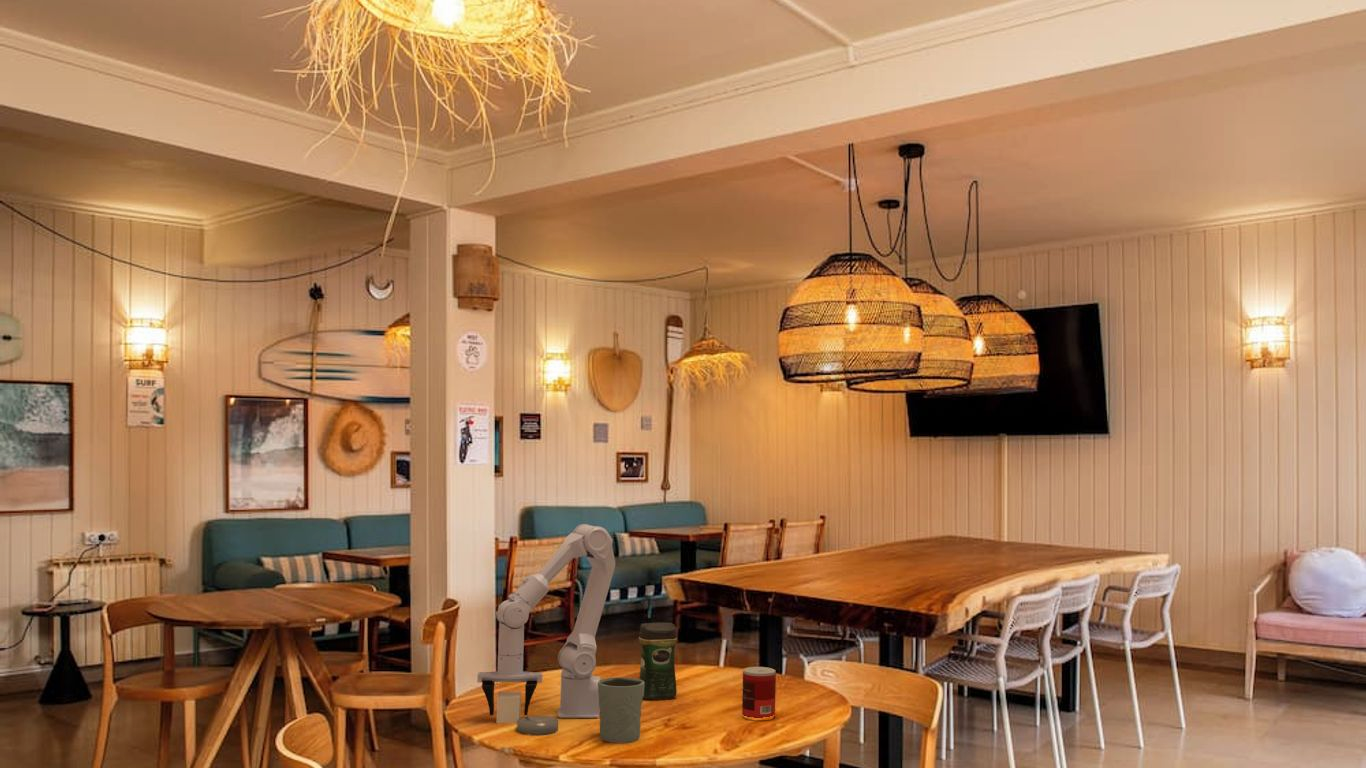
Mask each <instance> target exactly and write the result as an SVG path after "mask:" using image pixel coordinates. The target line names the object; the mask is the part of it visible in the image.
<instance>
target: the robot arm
mask: <svg viewBox="0 0 1366 768" xmlns="http://www.w3.org/2000/svg"><path fill="white" fill-rule="evenodd" d="M613 542H614V539H613V538H612V537H611V535H610V534H609V532H608V530H607V529H605V528H604V527H602V526H599V525H598V526H595V525H590V524H587V523H582V524H581V523H580V524H579V525H577V526H576V527H575V528H574V530H573V531H572V532H571V533H569V534H568V535H567V536H566V538H565V539H564V541H563V542H562V544H561V545H560V546H559V547H558V548H557V550H556V551H555V552H554V553H553V555H552V556H551V557H550V558H549V559H548V561H547V562H546V563H545V565H543V567H542V568H541V569H540V570H539V572H538V573H532V574H531V573H530V575H528V576H524V577H523V579H521V581H522V583H521V585H519V586H518V587H517V589H515V591H514V592H513V593H510V594H509V595H508V596H507V598H509V599H506V600H504V601H502V602H501V603H500V604H499V606H498V608H497V611H495V616H496V619H497V621H498V622H499V624H498V625H499V628H498V631H499V632H498V651H497V654H498V655H497V670H496V671H482V672H480V671H479V672H478V673H477V679H476V680H477V683H482V684H481V688H482V691H483V693H484V695H485V698H486V701H487V705H488V710H489V716H494V714H495V698H494V696H495V683H525V686H524V687H525V689H524V690H525V691H524V692H525V696H524V699H525V701H524V707H523V708H524V709H523V716H528V713H529V707H530V703H531V700H532V697H533V695H534V693H535V691H536V688H537V686H538V684H540V683H541V684H542V683H543V672H533V671H524V649H525V648H524V647H525V645H524V644H525V634H524V633H525V624H526V623H527V622H528V620H529V617H530V616H529V615H530V612H532V610H533V609H534V608H535V607H536V606H537V605H538V604H539V602H540V601H541V600H542V599H543V598H544V597H545V596H546V594H548V592H549V591H550V583H551V582H552V580H554V578H555V577H556V576H557V575H558V574H559V573H560V572H561V571H562V570H563V569H565V567H566V566H567V565H568V564H569V563H570V562H571V561H572V560H573V559H577V558H581V557H586V559H587V561H588V562H589V564H590V565H591V569H590V572H589V575H588V579H587V583H586V586H585V590H584V594H583V597H582V599H581V600H582V601H581V603H580V607H579V611H578V614H577V618H576V621H575V624H574V627H573V631H572V632H571V633H570V634H569V636H567V638H566V642H565V644H564V645H563V647H561V649H560V650H559V652H558V655H557V661H558V663H559V665H560V667H561V668H562V671H561V674H560V698H559V699H560V700H559V701H560V702H559V703H560V705H559V708H558V712H557V718H559V719H560V718H561V719H562V718H565V719H566V718H568V719H574V718H576V719H577V718H579V719H580V718H582V719H583V718H584V719H585V718H588V719H589V718H590V719H592V718H593V719H594V718H595V719H596V718H600V706H599V693H598V681H599V680H601V676H599V675H593V672H594V671H595V669H596V667H597V666H596V665H597V659H596V658H597V657H596V653H597V649H598V648H597V647H598V646H597V643H596V634H597V632H598V627H599V623H600V620H601V617H602V613H603V610H604V606H605V603H606V601H607V596H608V593H609V590H610V585H611V582H612V578H613V576H614V573H615V572H614V571H615V569H616V559H615V554H614V548H613Z"/></svg>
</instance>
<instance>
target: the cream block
mask: <svg viewBox="0 0 1366 768" xmlns="http://www.w3.org/2000/svg"><path fill="white" fill-rule="evenodd" d="M496 697H497V698H496V699H497V700H496V724H497V723H517V720H518V719H520V718H522V717H521V716H522V715H521V713H522V691H499V692H498V695H497V696H496Z"/></svg>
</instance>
